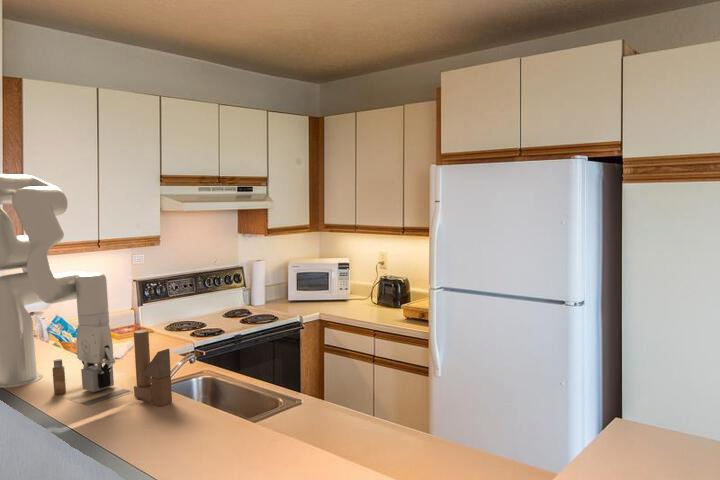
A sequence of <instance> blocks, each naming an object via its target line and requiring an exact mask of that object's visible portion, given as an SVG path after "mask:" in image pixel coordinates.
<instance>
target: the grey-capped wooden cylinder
mask: <svg viewBox="0 0 720 480" xmlns="http://www.w3.org/2000/svg"><path fill="white" fill-rule="evenodd" d="M52 380H53V381H52V382H53V394H55V395H61V394H64V393H66V390H67V389H66V373H65V366H63V358H58V359H54V360H53V367H52ZM55 395H54V396H55Z"/></svg>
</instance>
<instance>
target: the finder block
mask: <svg viewBox="0 0 720 480" xmlns="http://www.w3.org/2000/svg"><path fill="white" fill-rule="evenodd" d="M104 365H105V363H103V364H102V367H103V366H104ZM113 366H114V365H113ZM113 366H112V368H111V371H110V383H111V385H110V386H113V387H114V386H115V384H114V383H115V379H114V367H113ZM80 371H81V383H82V384H81V385H82V388H83V389H84V390H88V391H91V392H95V391H98V390H101V389H104V388H107V387H110V386H107V387H104V388H101V389H100V388H99V385H98V374H99V369H98V365H97V364H95V365H94V366H90V367H87V368H81V369H80Z"/></svg>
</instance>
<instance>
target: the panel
mask: <svg viewBox="0 0 720 480" xmlns="http://www.w3.org/2000/svg"><path fill="white" fill-rule="evenodd" d="M129 394H134V391H131V390H129V389H126V388H120V387H116V386H114V385H113V386H110V387H107V388H104V389H101V390H98V391H95V392H91V391H88V390H84V389H83V388H82V384H80V385H78V386H74V387H72V388H68V389H66V393H64V394H61V395H55V394H54V393H52V396H55V397H59V398H62V399H65V400H69V401H72V402H75V403H78V404H81V405H84V406H88V407H91V408H92V407H95V406H99V405H100V404H101V405H102V404H104V403H106V402H109V401H113V400H115V399H116V400H117V399H118V398H122V397H123V396H127V395H129Z"/></svg>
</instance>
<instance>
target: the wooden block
mask: <svg viewBox="0 0 720 480" xmlns="http://www.w3.org/2000/svg"><path fill="white" fill-rule="evenodd" d="M133 343H134V344H133V345H134V346H133V347H134V358H135V359H134V361H135V362H134V363H135V374H136V375H135V377H136V385H134V386H133V394H134V397H136V398H137V399H136V400H137V401H141V402H145V403H147V404H152V405H155V406H158V407H164V406H166V405H168V404H170V403H172V402H173V393H172V392H173V391H172V376H171V375H172V373H171V372H172V370H171V352H170V348H165V349H163V350H159V351H157V352H156V354H155V355H154V357H153V358H152V359H151V356H150V354H151V352H150V351H151V350H150V335H149V330H146V329H140V330H136V331H134V332H133Z"/></svg>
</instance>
